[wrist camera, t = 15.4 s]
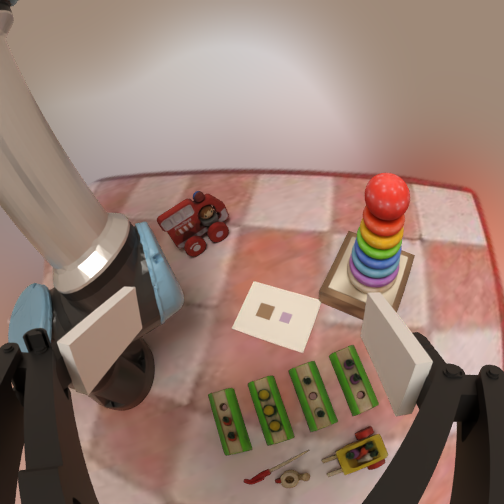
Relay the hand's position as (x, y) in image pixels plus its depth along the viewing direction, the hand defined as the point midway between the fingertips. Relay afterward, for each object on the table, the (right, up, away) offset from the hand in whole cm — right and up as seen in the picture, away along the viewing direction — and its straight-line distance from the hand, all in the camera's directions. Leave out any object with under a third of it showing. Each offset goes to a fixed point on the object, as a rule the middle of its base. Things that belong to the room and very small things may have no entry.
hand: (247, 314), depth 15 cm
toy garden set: (+7, -22, +19) cm, 30 cm away
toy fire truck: (-9, +6, +42) cm, 43 cm away
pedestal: (+19, -2, +29) cm, 35 cm away
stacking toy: (+18, 0, +25) cm, 31 cm away
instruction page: (+4, -7, +29) cm, 30 cm away
